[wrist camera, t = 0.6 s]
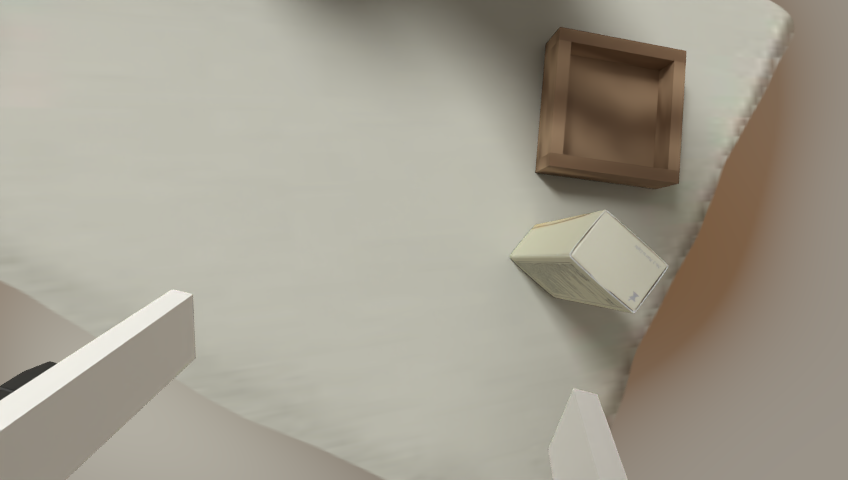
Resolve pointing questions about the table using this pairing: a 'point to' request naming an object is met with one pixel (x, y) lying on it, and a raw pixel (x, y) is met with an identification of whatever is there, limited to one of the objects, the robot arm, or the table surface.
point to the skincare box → (591, 261)
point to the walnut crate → (611, 110)
